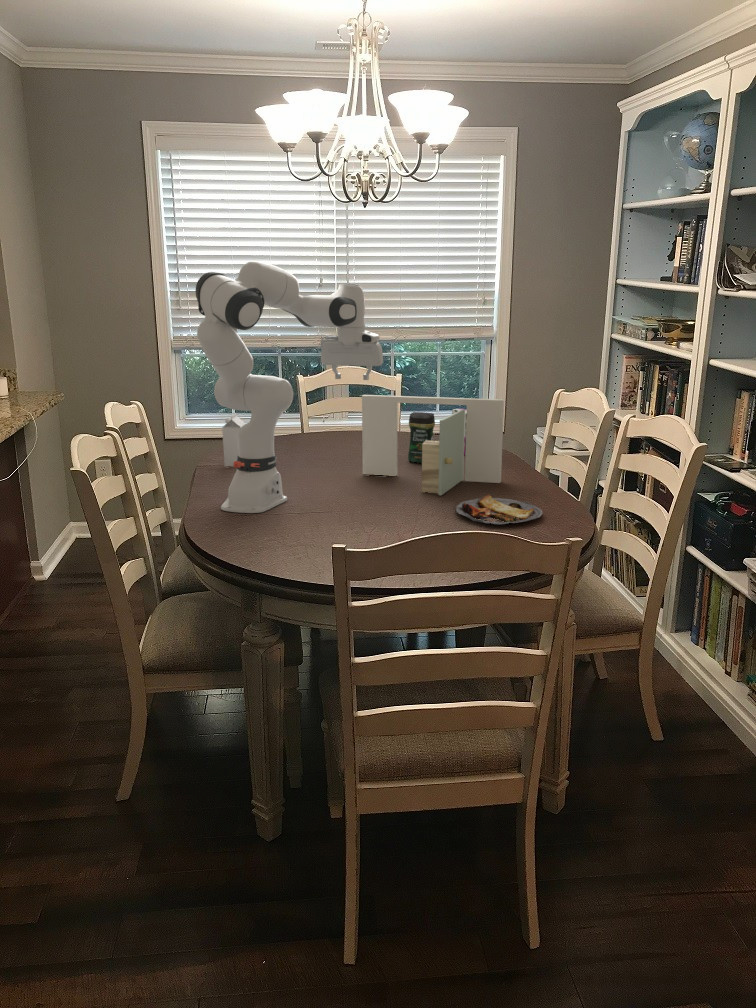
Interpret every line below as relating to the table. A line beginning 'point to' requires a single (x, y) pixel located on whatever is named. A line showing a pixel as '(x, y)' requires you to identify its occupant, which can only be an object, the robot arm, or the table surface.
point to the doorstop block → (430, 466)
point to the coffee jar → (419, 433)
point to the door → (451, 451)
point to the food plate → (497, 510)
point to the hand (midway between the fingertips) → (352, 379)
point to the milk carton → (231, 439)
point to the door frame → (481, 413)
